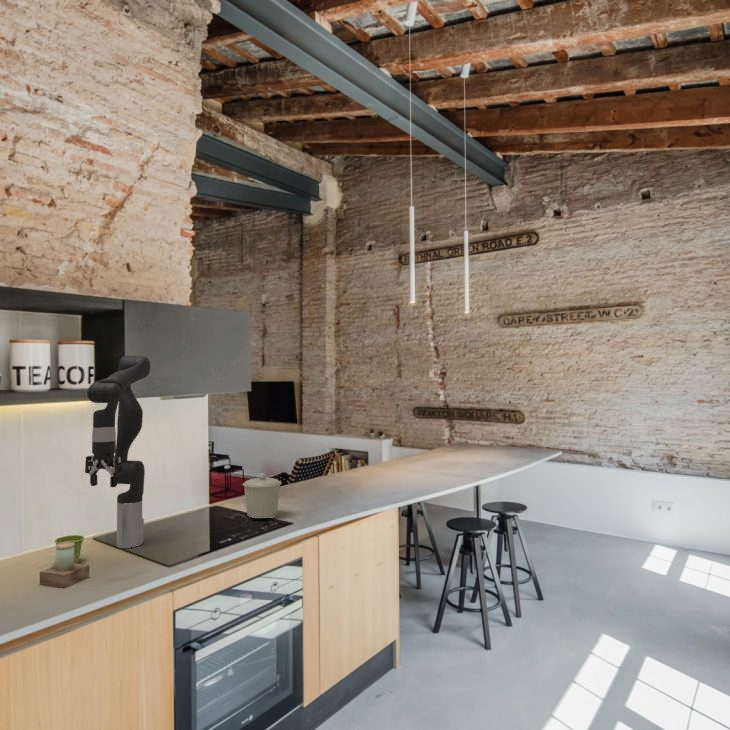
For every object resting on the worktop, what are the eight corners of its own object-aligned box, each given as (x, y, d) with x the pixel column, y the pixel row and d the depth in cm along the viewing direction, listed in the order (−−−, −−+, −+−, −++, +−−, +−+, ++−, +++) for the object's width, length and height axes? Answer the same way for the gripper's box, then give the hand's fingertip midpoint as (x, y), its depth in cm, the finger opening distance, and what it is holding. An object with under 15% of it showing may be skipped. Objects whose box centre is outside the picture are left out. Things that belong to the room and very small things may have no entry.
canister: (254, 525, 246) (254, 478, 247) (235, 517, 260) (235, 473, 260) (288, 518, 258) (288, 473, 259) (268, 511, 272) (268, 468, 272)
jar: (65, 564, 182) (65, 541, 182) (78, 566, 180) (78, 542, 180) (51, 570, 177) (51, 545, 177) (64, 572, 175) (64, 547, 175)
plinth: (65, 574, 185) (65, 562, 185) (89, 577, 181) (89, 565, 182) (39, 584, 175) (39, 571, 175) (63, 588, 172) (64, 575, 172)
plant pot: (88, 558, 201) (89, 534, 201) (76, 567, 191) (76, 542, 191) (62, 559, 200) (63, 535, 200) (48, 567, 191) (49, 542, 191)
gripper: (128, 439, 193) (127, 485, 193) (96, 438, 198) (95, 483, 198) (112, 441, 186) (111, 489, 186) (79, 440, 191) (78, 487, 190)
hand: (103, 486), depth 192 cm, fingers open, 8 cm apart
